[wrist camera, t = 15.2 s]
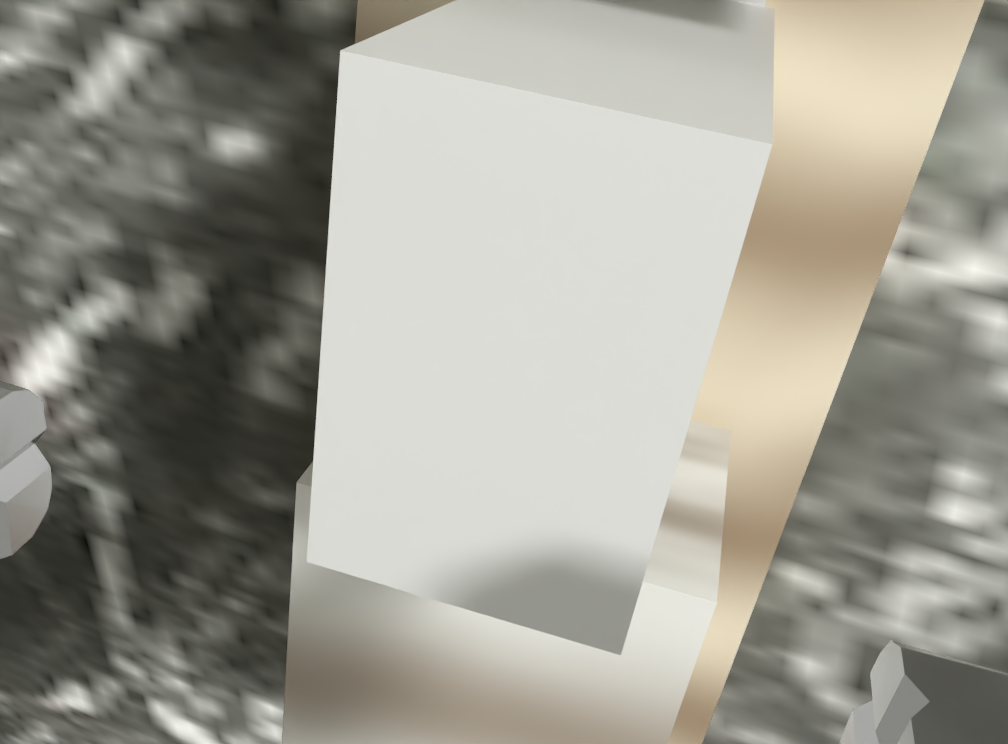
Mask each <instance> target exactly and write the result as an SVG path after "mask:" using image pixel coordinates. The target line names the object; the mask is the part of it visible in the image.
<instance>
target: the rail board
mask: <svg viewBox="0 0 1008 744" xmlns="http://www.w3.org/2000/svg"><path fill="white" fill-rule="evenodd" d="M453 1H455V0H358V5H357V19H356V33H355V44H356V43H359V42H361V41H363V40H366V39H368V38H370V37H373V36H375V35H377V34H379V33H382V32H384V31H386V30H389V29H391V28H393V27H396V26H398V25H400V24H402V23H405V22H407V21H409V20H412V19H414V18H416V17H419V16H421V15H423V14H425V13H428V12H430V11H432V10H435V9H437V8H439V7H442V6H444V5H446V4H448V3H451V2H453ZM731 1H736V2H741V3H746V4H751V5H756V6H761V7H766V8H771V9H775V20H774V83H773V145H772V148H771V151H770V155H769V158H768V162H767V165H766V168H765V172H764V175H763V178H762V182H761V185H760V188H759V192H758V195H757V199H756V202H755V205H754V209H753V212H752V215H751V219H750V222H749V225H748V229H747V232H746V236H745V239H744V242H743V246H742V249H741V252H740V256H739V259H738V263H737V266H736V269H735V273H734V276H733V279H732V283H731V286H730V289H729V293H728V296H727V300H726V303H725V306H724V310H723V313H722V316H721V320H720V323H719V327H718V330H717V333H716V337H715V340H714V343H713V347H712V350H711V353H710V357H709V360H708V364H707V367H706V370H705V374H704V377H703V380H702V384H701V387H700V390H699V394H698V397H697V401H696V404H695V407H694V411H693V414H692V417H691V421H690V424H689V428H688V431H687V434H686V438H685V441H684V444H683V448H682V451H681V454H680V458H679V461H678V465H677V468H676V471H675V475H674V478H673V481H672V485H671V488H670V491H669V495H668V498H667V502H666V505H665V508H664V512H663V515H662V518H661V522H660V525H659V529H658V532H657V535H656V539H655V542H654V545H653V549H652V552H651V555H650V559H649V562H648V566H647V569H646V572H645V576H644V579H643V582H642V586H641V589H640V593H639V596H638V599H637V603H636V606H635V609H634V613H633V616H632V619H631V623H630V626H629V630H628V633H627V636H626V640H625V643H624V646H623V650H622V653H621V655H618V654H614V653H611V652H608V651H604V650H601V649H598V648H594V647H591V646H588V645H584V644H581V643H578V642H574V641H571V640H567V639H564V638H561V637H557V636H554V635H551V634H547V633H544V632H541V631H537V630H534V629H530V628H527V627H524V626H520V625H517V624H514V623H510V622H507V621H504V620H500V619H497V618H494V617H490V616H487V615H483V614H480V613H477V612H473V611H470V610H467V609H463V608H460V607H457V606H453V605H450V604H446V603H443V602H440V601H436V600H433V599H430V598H426V597H423V596H420V595H416V594H413V593H410V592H406V591H403V590H399V589H396V588H393V587H389V586H386V585H383V584H379V583H376V582H373V581H369V580H366V579H362V578H359V577H356V576H352V575H349V574H346V573H342V572H339V571H336V570H332V569H329V568H326V567H322V566H319V565H315V564H312V563H309V562H307V548H308V533H309V518H310V503H311V488H312V472H313V462H312V463H311V464H310V466H309V467H308V468H307V470H306V471H305V472H304V473H303V475H302V476H301V477H300V479H299V480H298V481H297V483H296V501H295V518H294V536H293V554H292V572H291V590H290V607H289V625H288V643H287V661H286V678H285V696H284V714H283V732H282V744H702V742H703V740H704V737H705V734H706V732H707V729H708V726H709V724H710V721H711V719H712V716H713V713H714V711H715V708H716V705H717V703H718V700H719V697H720V695H721V692H722V690H723V687H724V684H725V682H726V679H727V676H728V674H729V671H730V669H731V666H732V663H733V661H734V658H735V655H736V653H737V650H738V647H739V645H740V642H741V640H742V637H743V634H744V632H745V629H746V626H747V624H748V621H749V619H750V616H751V613H752V611H753V608H754V605H755V603H756V600H757V597H758V595H759V592H760V590H761V587H762V584H763V582H764V579H765V576H766V574H767V571H768V568H769V566H770V563H771V561H772V558H773V555H774V553H775V550H776V547H777V545H778V542H779V540H780V537H781V534H782V532H783V529H784V526H785V524H786V521H787V518H788V516H789V513H790V511H791V508H792V505H793V503H794V500H795V497H796V495H797V492H798V490H799V487H800V484H801V482H802V479H803V476H804V474H805V471H806V468H807V466H808V463H809V461H810V458H811V455H812V453H813V450H814V447H815V445H816V442H817V440H818V437H819V434H820V432H821V429H822V426H823V424H824V421H825V418H826V416H827V413H828V411H829V408H830V405H831V403H832V400H833V397H834V395H835V392H836V390H837V387H838V384H839V382H840V379H841V376H842V374H843V371H844V368H845V366H846V363H847V361H848V358H849V355H850V353H851V350H852V347H853V345H854V342H855V340H856V337H857V334H858V332H859V329H860V326H861V324H862V321H863V318H864V316H865V313H866V311H867V308H868V305H869V303H870V300H871V297H872V295H873V292H874V289H875V287H876V284H877V282H878V279H879V276H880V274H881V271H882V268H883V266H884V263H885V261H886V258H887V255H888V253H889V250H890V247H891V245H892V242H893V239H894V237H895V234H896V232H897V229H898V226H899V224H900V221H901V218H902V216H903V213H904V211H905V208H906V205H907V203H908V200H909V197H910V195H911V192H912V189H913V187H914V184H915V182H916V179H917V176H918V174H919V171H920V168H921V166H922V163H923V161H924V158H925V155H926V153H927V150H928V147H929V145H930V142H931V139H932V137H933V134H934V132H935V129H936V126H937V124H938V121H939V118H940V116H941V113H942V111H943V108H944V105H945V103H946V100H947V97H948V95H949V92H950V89H951V87H952V84H953V82H954V79H955V76H956V74H957V71H958V68H959V66H960V63H961V61H962V58H963V55H964V53H965V50H966V47H967V45H968V42H969V39H970V37H971V34H972V32H973V29H974V26H975V24H976V21H977V18H978V16H979V13H980V10H981V8H982V5H983V3H984V0H731Z"/></svg>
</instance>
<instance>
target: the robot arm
mask: <svg viewBox="0 0 1008 744" xmlns="http://www.w3.org/2000/svg"><path fill="white" fill-rule="evenodd" d="M46 429H47V428H46V422H45V415H44V409H43V402H42V400H41V399H40V398H39V397H37V396H36V395H35V394H34V393H32V392H31V391H30V390H28V389H25V388H22V387H19V386H15V385H12V384H9V383H6V382H3V381H0V559H2V558H5V557H8V556H11V555H13V554H14V553H15V552H16V551H17V550H18V549H19V548H20V547H22V546H23V545H24V544H25V543H26V542H27V541H28V540H29V539H30V538H31V537H32V536H33V535H34V533H35V531H36V530H37V528H38V526H39V524H40V523H41V521H42V519H43V517H44V515H45V514H46V512H47V510H48V506H49V501H50V495H51V490H52V480H51V468H50V465H49V464H48V462H47V461H46V459H45V458H44V456H43V455H42V453H41V452H40V450H39V449H38V448H37V446H36V445H35V443H36V441H37V440H38V439H39V438H40V437H41V435H42V434H43V433H44V432H45V430H46ZM870 675H871V686H872V698H873V700H872V701H870V702H868V703H866V704H864V705H862V706H860V707H857V708H855V709H853V711H852V713H851V716H850V718H849V720H848V723H847V725H846V727H845V730H844V732H843V734H842V737H841V740H840V744H1008V674H1007V673H1003V672H1000V671H996V670H993V669H989V668H986V667H982V666H979V665H975V664H972V663H968V662H965V661H961V660H958V659H954V658H950V657H947V656H943V655H940V654H936V653H933V652H929V651H926V650H922V649H919V648H915V647H912V646H908V645H905V644H901V643H898V642H894V641H890V642H889V643H888V644H887V646H886V647H885V648H884V649H883V650H882V651H881V653H880V655H879V657H878V659H877V661H876V663H875V665H874V667H873V669H872V671H871V673H870Z"/></svg>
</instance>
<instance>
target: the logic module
mask: <svg viewBox="0 0 1008 744" xmlns="http://www.w3.org/2000/svg"><path fill="white" fill-rule="evenodd" d="M774 20H775V9H771V8H766V7H761V6H756V5H751V4H746V3H741V2H736V1H731V0H455V1H453V2H451V3H448V4H446V5H444V6H442V7H439V8H437V9H435V10H432V11H430V12H428V13H425V14H423V15H421V16H419V17H416V18H414V19H412V20H409V21H407V22H405V23H402V24H400V25H398V26H396V27H393V28H391V29H389V30H386V31H384V32H382V33H379V34H377V35H375V36H373V37H370V38H368V39H366V40H363V41H361V42H359V43H356V44H354V45H352V46H349V47H347V48H345V49H343V50H340V63H339V78H338V93H337V108H336V124H335V139H334V154H333V169H332V184H331V199H330V215H329V230H328V245H327V260H326V275H325V290H324V306H323V321H322V336H321V351H320V366H319V381H318V397H317V412H316V427H315V442H314V457H313V472H312V488H311V503H310V518H309V533H308V548H307V562H309V563H312V564H315V565H319V566H322V567H326V568H329V569H332V570H336V571H339V572H342V573H346V574H349V575H352V576H356V577H359V578H362V579H366V580H369V581H373V582H376V583H379V584H383V585H386V586H389V587H393V588H396V589H399V590H403V591H406V592H410V593H413V594H416V595H420V596H423V597H426V598H430V599H433V600H436V601H440V602H443V603H446V604H450V605H453V606H457V607H460V608H463V609H467V610H470V611H473V612H477V613H480V614H483V615H487V616H490V617H494V618H497V619H500V620H504V621H507V622H510V623H514V624H517V625H520V626H524V627H527V628H530V629H534V630H537V631H541V632H544V633H547V634H551V635H554V636H557V637H561V638H564V639H567V640H571V641H574V642H578V643H581V644H584V645H588V646H591V647H594V648H598V649H601V650H604V651H608V652H611V653H614V654H618V655H621V653H622V650H623V646H624V643H625V640H626V636H627V633H628V630H629V626H630V623H631V619H632V616H633V613H634V609H635V606H636V603H637V599H638V596H639V593H640V589H641V586H642V582H643V579H644V576H645V572H646V569H647V566H648V562H649V559H650V555H651V552H652V549H653V545H654V542H655V539H656V535H657V532H658V529H659V525H660V522H661V518H662V515H663V512H664V508H665V505H666V502H667V498H668V495H669V491H670V488H671V485H672V481H673V478H674V475H675V471H676V468H677V465H678V461H679V458H680V454H681V451H682V448H683V444H684V441H685V438H686V434H687V431H688V428H689V424H690V421H691V417H692V414H693V411H694V407H695V404H696V401H697V397H698V394H699V390H700V387H701V384H702V380H703V377H704V374H705V370H706V367H707V364H708V360H709V357H710V353H711V350H712V347H713V343H714V340H715V337H716V333H717V330H718V327H719V323H720V320H721V316H722V313H723V310H724V306H725V303H726V300H727V296H728V293H729V289H730V286H731V283H732V279H733V276H734V273H735V269H736V266H737V263H738V259H739V256H740V252H741V249H742V246H743V242H744V239H745V236H746V232H747V229H748V225H749V222H750V219H751V215H752V212H753V209H754V205H755V202H756V199H757V195H758V192H759V188H760V185H761V182H762V178H763V175H764V172H765V168H766V165H767V162H768V158H769V155H770V151H771V148H772V145H773V83H774Z"/></svg>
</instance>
